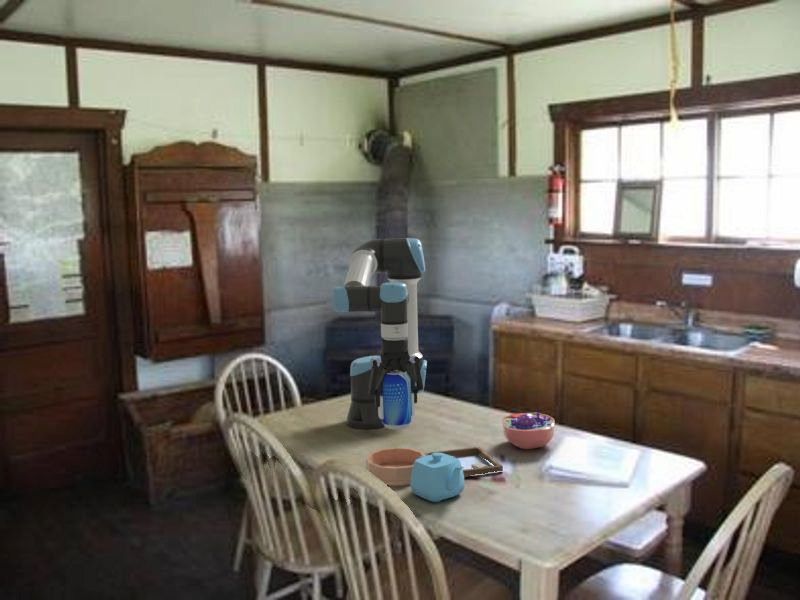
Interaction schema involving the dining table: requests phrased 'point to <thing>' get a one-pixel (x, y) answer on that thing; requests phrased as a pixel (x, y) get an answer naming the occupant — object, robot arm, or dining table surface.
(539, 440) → the cell model
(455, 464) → the teapot
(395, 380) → the beer can
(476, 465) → the stone
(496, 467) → the tray
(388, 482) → the dish
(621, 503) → the dining table surface
